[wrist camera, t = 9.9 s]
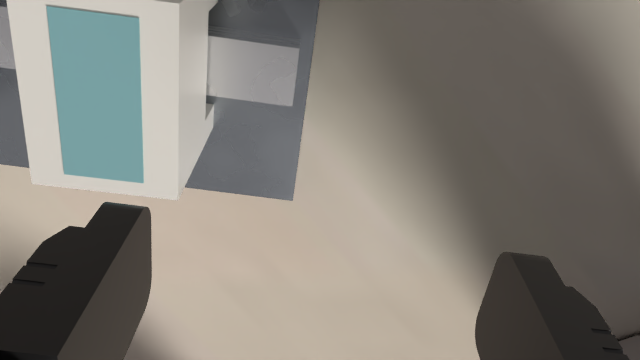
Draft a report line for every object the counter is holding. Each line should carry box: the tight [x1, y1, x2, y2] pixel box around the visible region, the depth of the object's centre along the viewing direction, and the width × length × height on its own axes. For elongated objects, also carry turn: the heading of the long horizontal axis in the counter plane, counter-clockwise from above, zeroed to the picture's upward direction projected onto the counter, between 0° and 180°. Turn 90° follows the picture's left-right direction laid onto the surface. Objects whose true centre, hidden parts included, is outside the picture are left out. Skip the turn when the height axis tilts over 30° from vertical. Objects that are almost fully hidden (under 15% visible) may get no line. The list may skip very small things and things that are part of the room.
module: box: [6, 0, 218, 200], centre depth 18 cm, size 4×6×6 cm
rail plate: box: [0, 0, 319, 201], centre depth 19 cm, size 16×12×5 cm
